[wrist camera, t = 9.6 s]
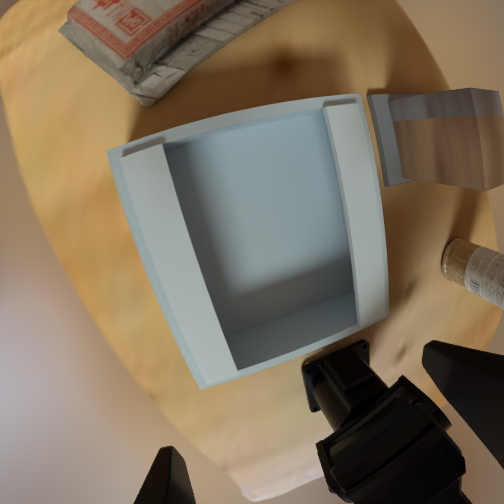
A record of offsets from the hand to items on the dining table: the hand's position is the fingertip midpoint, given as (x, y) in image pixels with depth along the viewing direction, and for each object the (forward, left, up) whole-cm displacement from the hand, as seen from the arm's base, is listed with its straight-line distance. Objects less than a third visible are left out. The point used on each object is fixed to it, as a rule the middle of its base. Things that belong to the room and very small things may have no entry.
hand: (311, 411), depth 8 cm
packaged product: (+20, -3, -13) cm, 24 cm away
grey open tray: (+2, -2, -12) cm, 13 cm away
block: (+6, -16, -12) cm, 21 cm away
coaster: (+6, -16, -12) cm, 21 cm away
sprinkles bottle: (-6, -21, -13) cm, 25 cm away
